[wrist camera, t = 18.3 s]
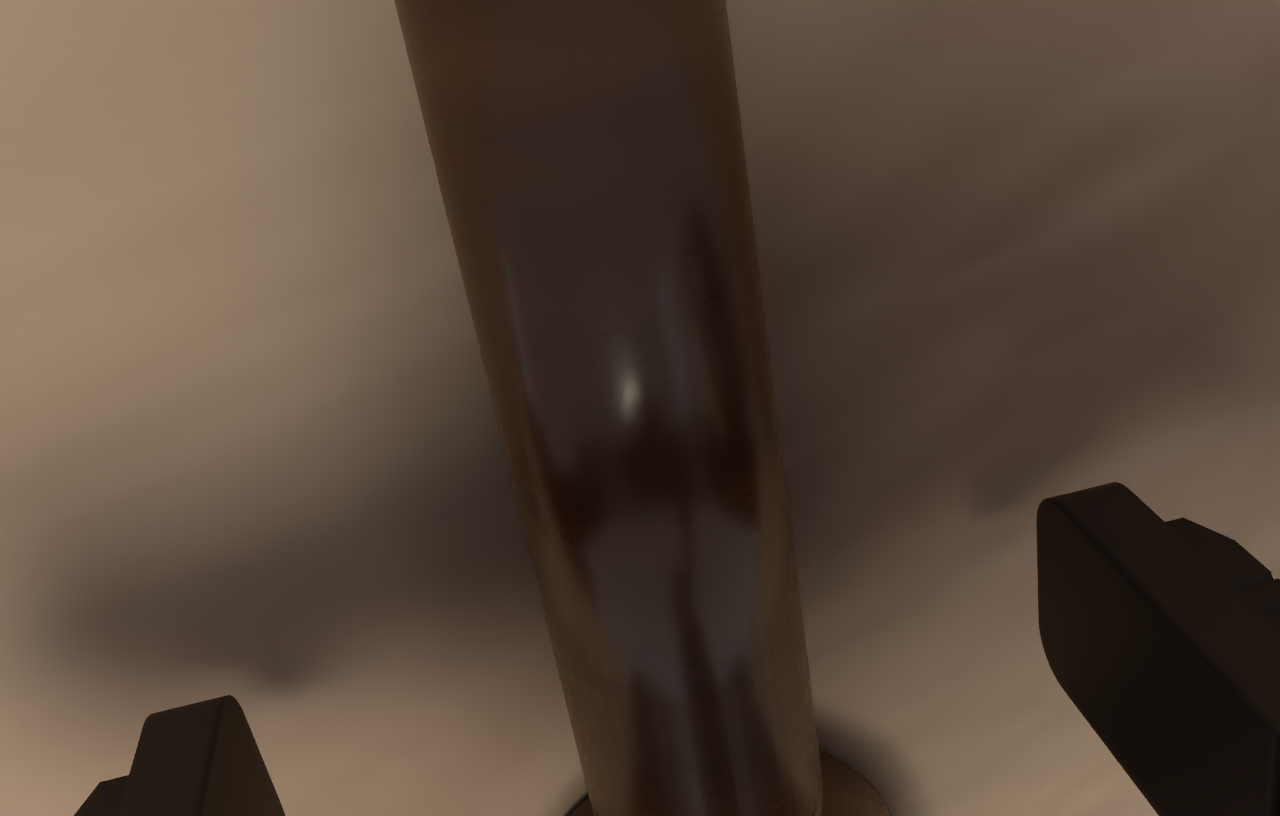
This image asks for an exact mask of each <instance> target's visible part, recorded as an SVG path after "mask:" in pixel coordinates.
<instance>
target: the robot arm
mask: <svg viewBox="0 0 1280 816" xmlns="http://www.w3.org/2000/svg"><path fill="white" fill-rule="evenodd" d="M1037 564H1038V610H1039V629H1040V635H1041V640H1042V644H1043V648H1044V651H1045V654H1046V657H1047V660H1048V662H1049V665H1050V667H1051V669H1052V671H1053V673H1054V675H1055V677H1056V679H1057V681H1058V682H1059V684H1060V685H1061V687H1062V688H1063V689H1064V691H1065V692H1066V693H1067V695H1068V696H1069V697H1070V699H1071V700H1072V701H1073V703H1074V704H1075V705H1076V707H1077V708H1078V709H1079V711H1080V712H1081V713H1082V715H1083V716H1084V717H1085V719H1086V720H1087V721H1088V722H1089V724H1090V725H1091V726H1092V728H1093V729H1094V730H1095V732H1096V733H1097V734H1098V736H1099V737H1100V738H1101V740H1102V741H1103V742H1104V744H1105V745H1106V746H1107V748H1108V749H1109V750H1110V752H1111V753H1112V754H1113V756H1114V757H1115V758H1116V759H1117V761H1118V762H1119V763H1120V765H1121V766H1122V767H1123V769H1124V770H1125V771H1126V773H1127V774H1128V775H1129V777H1130V778H1131V779H1132V781H1133V782H1134V783H1135V785H1136V786H1137V787H1138V789H1139V790H1140V791H1141V793H1142V794H1143V795H1144V797H1145V798H1146V799H1147V800H1148V802H1149V803H1150V804H1151V806H1152V807H1153V808H1154V810H1155V811H1156V812H1157V814H1158V815H1159V816H1280V579H1275V580H1274V579H1273V577H1272V575H1271V572H1270V571H1269V570H1268V569H1267V568H1266V567H1265V566H1264V565H1262V564H1261V563H1260V562H1259V561H1258V560H1257V559H1256V558H1254V557H1253V556H1252V555H1251V554H1250V553H1249V552H1248V551H1246V550H1245V549H1244V548H1243V547H1242V546H1241V545H1239V544H1238V543H1237V542H1236V541H1235V540H1233V539H1231V538H1228V537H1226V536H1224V535H1221V534H1219V533H1217V532H1215V531H1212V530H1210V529H1208V528H1206V527H1203V526H1201V525H1199V524H1197V523H1194V522H1192V521H1190V520H1188V519H1185V518H1180V519H1176V520H1171V521H1167V522H1164V521H1163V520H1162V519H1161V518H1160V517H1159V516H1158V515H1156V514H1155V513H1154V512H1153V511H1152V510H1151V509H1150V508H1149V507H1148V506H1147V505H1146V504H1145V503H1144V502H1142V501H1141V500H1140V499H1139V498H1138V497H1137V496H1136V495H1135V494H1134V493H1133V492H1132V491H1131V490H1129V489H1128V488H1127V487H1126V486H1124V485H1123V484H1121V483H1118V482H1113V483H1109V484H1105V485H1100V486H1096V487H1092V488H1088V489H1084V490H1080V491H1076V492H1072V493H1068V494H1063V495H1059V496H1055V497H1051V498H1047V499H1044V500H1043V501H1041V503H1040V505H1039V507H1038V511H1037ZM74 816H285V813H284V810H283V808H282V805H281V803H280V800H279V798H278V795H277V793H276V791H275V788H274V786H273V783H272V781H271V778H270V776H269V773H268V771H267V769H266V766H265V764H264V761H263V759H262V756H261V754H260V751H259V749H258V747H257V744H256V742H255V739H254V737H253V734H252V732H251V729H250V727H249V724H248V722H247V720H246V717H245V715H244V712H243V710H242V708H241V706H240V705H239V703H238V701H237V700H236V699H235V698H234V697H233V696H231V695H227V696H223V697H219V698H215V699H211V700H206V701H202V702H198V703H194V704H190V705H186V706H182V707H178V708H173V709H169V710H165V711H161V712H157V713H153V714H150V715H149V716H148V717H147V719H146V720H145V723H144V725H143V729H142V732H141V736H140V739H139V743H138V746H137V750H136V753H135V756H134V760H133V763H132V767H131V770H130V774H129V775H128V776H123V777H119V778H115V779H111V780H107V781H103V782H100V783H99V784H98V785H97V787H96V788H95V789H94V791H93V792H92V793H91V794H90V796H89V797H88V798H87V800H86V801H85V802H84V803H83V805H82V806H81V807H80V808H79V810H78V811H77V812H76V814H75V815H74Z"/></svg>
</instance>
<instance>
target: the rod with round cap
mask: <svg viewBox="0 0 1280 816" xmlns="http://www.w3.org/2000/svg"><path fill="white" fill-rule="evenodd" d="M395 4H396V8H397V13H398V17H399V21H400V25H401V29H402V33H403V37H404V41H405V45H406V49H407V53H408V58H409V62H410V66H411V70H412V74H413V78H414V82H415V86H416V90H417V94H418V99H419V103H420V107H421V111H422V115H423V119H424V123H425V127H426V131H427V135H428V139H429V144H430V148H431V152H432V156H433V160H434V164H435V168H436V172H437V176H438V180H439V184H440V189H441V193H442V197H443V201H444V205H445V209H446V213H447V217H448V221H449V225H450V230H451V234H452V238H453V242H454V246H455V250H456V254H457V258H458V262H459V266H460V270H461V275H462V279H463V283H464V287H465V291H466V295H467V299H468V303H469V307H470V311H471V315H472V320H473V324H474V328H475V332H476V336H477V340H478V344H479V348H480V352H481V356H482V361H483V365H484V369H485V373H486V377H487V381H488V385H489V389H490V393H491V397H492V401H493V406H494V410H495V414H496V418H497V422H498V426H499V430H500V434H501V438H502V442H503V447H504V451H505V455H506V459H507V463H508V467H509V471H510V475H511V479H512V483H513V487H514V492H515V496H516V500H517V504H518V508H519V512H520V516H521V520H522V524H523V528H524V532H525V537H526V541H527V545H528V549H529V553H530V557H531V561H532V565H533V569H534V573H535V578H536V582H537V586H538V590H539V594H540V598H541V602H542V606H543V610H544V614H545V618H546V623H547V627H548V631H549V635H550V639H551V643H552V647H553V651H554V655H555V659H556V663H557V668H558V672H559V676H560V680H561V684H562V688H563V692H564V696H565V700H566V704H567V709H568V713H569V717H570V721H571V725H572V729H573V733H574V737H575V741H576V745H577V749H578V754H579V758H580V762H581V766H582V770H583V774H584V778H585V782H586V786H587V790H588V795H589V798H588V799H587V800H585V801H584V802H583V803H582V804H581V805H580V806H578V807H577V808H576V810H575V811H574V812H573V813H572V814H571V815H570V816H891V814H890V812H889V810H888V808H887V807H886V805H885V803H884V802H883V800H882V798H881V797H880V795H879V794H878V793H877V791H876V790H875V789H874V788H873V787H872V786H871V785H870V784H869V782H868V781H867V780H866V779H864V778H863V777H862V776H861V775H859V774H858V773H857V772H856V771H854V770H853V769H852V768H851V767H849V766H847V765H846V764H844V763H842V762H840V761H839V760H837V759H835V758H834V757H832V756H830V755H827V754H825V753H822V752H820V751H819V746H818V738H817V730H816V722H815V714H814V706H813V698H812V690H811V682H810V674H809V666H808V658H807V650H806V642H805V634H804V626H803V618H802V610H801V602H800V594H799V586H798V578H797V570H796V562H795V554H794V546H793V538H792V530H791V522H790V514H789V506H788V498H787V490H786V482H785V474H784V465H783V457H782V449H781V441H780V433H779V425H778V417H777V409H776V401H775V393H774V385H773V377H772V369H771V361H770V353H769V345H768V337H767V329H766V321H765V313H764V305H763V297H762V289H761V281H760V273H759V265H758V257H757V249H756V241H755V233H754V225H753V217H752V209H751V201H750V193H749V185H748V177H747V169H746V161H745V153H744V145H743V137H742V129H741V120H740V112H739V104H738V96H737V88H736V80H735V72H734V64H733V56H732V48H731V40H730V32H729V24H728V16H727V8H726V0H395Z"/></svg>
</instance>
